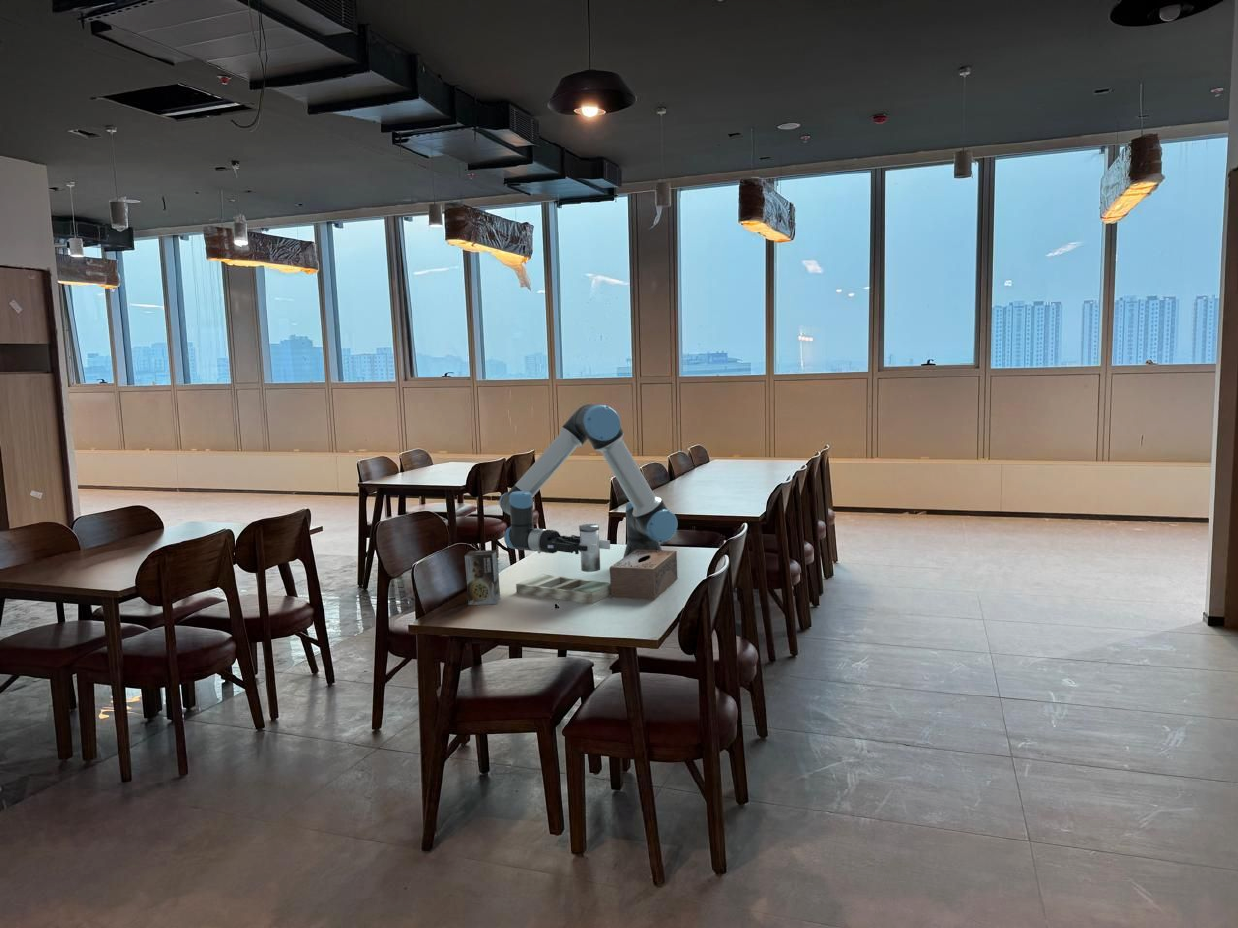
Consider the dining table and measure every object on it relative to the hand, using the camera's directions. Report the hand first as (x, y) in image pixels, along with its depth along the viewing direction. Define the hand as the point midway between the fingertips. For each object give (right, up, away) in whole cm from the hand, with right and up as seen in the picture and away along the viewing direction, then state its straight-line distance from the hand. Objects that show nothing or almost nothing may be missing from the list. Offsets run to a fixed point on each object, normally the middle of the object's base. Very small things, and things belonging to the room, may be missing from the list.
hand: (603, 547), depth 255 cm
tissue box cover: (+14, -15, +13) cm, 24 cm away
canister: (-4, -7, +4) cm, 9 cm away
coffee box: (-38, -18, +4) cm, 42 cm away
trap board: (-12, -16, +11) cm, 23 cm away
